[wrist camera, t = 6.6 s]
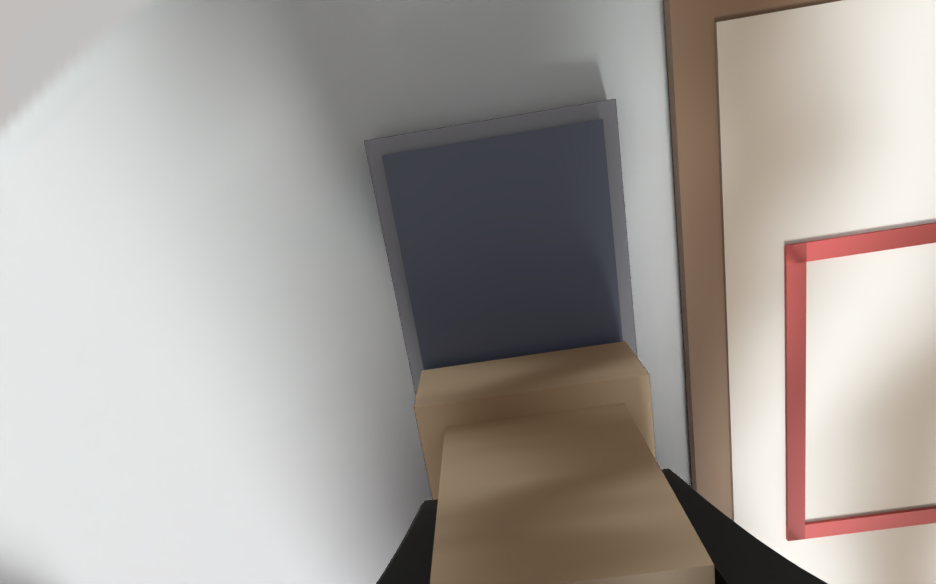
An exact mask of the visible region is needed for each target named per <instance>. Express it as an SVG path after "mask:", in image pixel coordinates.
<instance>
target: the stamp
mask: <svg viewBox="0 0 936 584" xmlns="http://www.w3.org/2000/svg"><path fill="white" fill-rule="evenodd" d="M414 411H415V416H416V421H417V426H418V431H419V435H420V440H421V445H422V450H423V455H424V460H425V465H426V470H427V474H428V479H429V484H430V489H431V494H432V499H433V500H436V499H438V505H437V515H436V525H435V536H434V546H433V556H432V567H431V577H430V584H715V571H714V564H713V562H712V560H711V558H710V556H709V555H708V553H707V551H706V549H705V547H704V546H703V544H702V542H701V540H700V538H699V537H698V535H697V533H696V531H695V529H694V528H693V526H692V524H691V522H690V521H689V519H688V517H687V515H686V513H685V512H684V510H683V508H682V506H681V504H680V503H679V501H678V499H677V497H676V495H675V494H674V492H673V490H672V488H671V486H670V485H669V483H668V481H667V479H666V477H665V476H664V474H663V472H662V470H661V468H660V467H659V465H658V463H657V461H656V452H655V440H654V427H653V414H652V401H651V388H650V375H649V373H648V372H647V370H646V369H645V367H644V366H643V365H642V363H641V362H640V361H639V359H638V358H637V356H636V355H635V354H634V352H633V351H632V350H631V348H630V347H629V345H628V344H627V343H626V341H623V342H616V343H609V344H602V345H595V346H588V347H581V348H574V349H567V350H560V351H554V352H547V353H540V354H533V355H526V356H519V357H512V358H505V359H498V360H491V361H484V362H477V363H470V364H463V365H456V366H450V367H443V368H436V369H429V370H422V372H421V376H420V381H419V386H418V390H417V395H416V399H415V404H414Z"/></svg>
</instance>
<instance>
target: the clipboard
mask: <svg viewBox="0 0 936 584" xmlns="http://www.w3.org/2000/svg"><path fill="white" fill-rule="evenodd" d="M664 15H665V32H666V49H667V66H668V84H669V101H670V118H671V135H672V152H673V169H674V186H675V203H676V220H677V237H678V254H679V271H680V289H681V306H682V323H683V340H684V357H685V374H686V391H687V408H688V425H689V442H690V459H691V476H692V488H693V489H694V490H695V491H696V492H698V493H699V494H700V495H701V496H702V497H704V498H705V499H706V500H707V501H709V502H710V503H711V504H712V505H713V506H715V507H716V508H717V509H718V510H720V511H721V512H722V513H724V514H725V515H726V516H727V517H729V518H730V519H731V520H733V521H734V522H735V523H737V524H738V525H739V526H741V527H742V528H743V529H745V530H746V531H747V532H749V533H750V534H751V535H753V536H754V537H755V538H757V539H758V540H760V541H761V542H763V543H764V544H765V545H767V546H768V547H770V548H771V549H773V550H774V551H776V552H777V553H779V554H780V555H782V556H783V557H785V558H786V559H788V560H789V561H791V562H793V563H794V564H796V565H797V566H799V567H801V568H802V569H804V570H805V571H807V572H809V573H811V574H812V575H814V576H816V577H817V578H819V579H821V580H823V581H824V582H826V583H828V584H936V0H664Z"/></svg>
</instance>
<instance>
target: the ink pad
mask: <svg viewBox="0 0 936 584" xmlns="http://www.w3.org/2000/svg"><path fill="white" fill-rule="evenodd" d="M364 143H365V148H366V153H367V158H368V163H369V167H370V172H371V177H372V182H373V187H374V192H375V197H376V202H377V207H378V212H379V217H380V222H381V227H382V231H383V236H384V241H385V246H386V251H387V256H388V261H389V266H390V271H391V276H392V281H393V286H394V291H395V295H396V300H397V305H398V310H399V315H400V320H401V325H402V330H403V335H404V340H405V345H406V350H407V355H408V359H409V364H410V369H411V374H412V379H413V384H414V389H415V394H416V395H417V390H418V386H419V381H420V376H421V372H422V370H429V369H436V368H443V367H450V366H456V365H463V364H470V363H477V362H484V361H491V360H498V359H505V358H512V357H519V356H526V355H533V354H540V353H547V352H554V351H560V350H567V349H574V348H581V347H588V346H595V345H602V344H609V343H616V342H623V341H626V343H627V344H628V345H629V347H630V348H631V350H632V351H633V352H634V354H635V355H636V356H637V349H636V337H635V325H634V313H633V301H632V289H631V277H630V265H629V253H628V241H627V229H626V217H625V205H624V193H623V181H622V169H621V156H620V144H619V132H618V120H617V108H616V99H611V100H605V101H599V102H593V103H587V104H581V105H575V106H569V107H563V108H557V109H551V110H545V111H539V112H533V113H527V114H521V115H515V116H509V117H503V118H497V119H491V120H485V121H479V122H473V123H467V124H461V125H455V126H449V127H443V128H437V129H431V130H425V131H419V132H413V133H407V134H401V135H395V136H389V137H383V138H377V139H371V140H365V141H364Z"/></svg>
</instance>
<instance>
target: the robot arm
mask: <svg viewBox="0 0 936 584" xmlns="http://www.w3.org/2000/svg"><path fill="white" fill-rule="evenodd" d="M662 472H663V474H664V476H665V477H666V479H667V481H668V483H669V485H670V486H671V488H672V490H673V492H674V494H675V495H676V497H677V499H678V501H679V503H680V504H681V506H682V508H683V510H684V512H685V513H686V515H687V517H688V519H689V521H690V522H691V524H692V526H693V528H694V529H695V531H696V533H697V535H698V537H699V538H700V540H701V542H702V544H703V546H704V547H705V549H706V551H707V553H708V555H709V556H710V558H711V560H712V562H713V564H714V571H715V584H828V583H826V582H824V581H823V580H821V579H819V578H817V577H816V576H814V575H812V574H811V573H809V572H807V571H805V570H804V569H802V568H801V567H799V566H797V565H796V564H794V563H793V562H791V561H789V560H788V559H786V558H785V557H783V556H782V555H780V554H779V553H777V552H776V551H774V550H773V549H771V548H770V547H768V546H767V545H765V544H764V543H763V542H761V541H760V540H758V539H757V538H755V537H754V536H753V535H751V534H750V533H749V532H747V531H746V530H745V529H743V528H742V527H741V526H739V525H738V524H737V523H735V522H734V521H733V520H731V519H730V518H729V517H727V516H726V515H725V514H724V513H722V512H721V511H720V510H718V509H717V508H716V507H715V506H713V505H712V504H711V503H710V502H709V501H707V500H706V499H705V498H704V497H702V496H701V495H700V494H699V493H698V492H696V491H695V490H694V489H693V488H692V487H690V486H689V485H688V484H687V483H686V482H684V481H683V480H682V479H681V478H680V477H678V476H677V475H676V474H675V473H674V472H672V471H671V470H670V469H664V470H662ZM437 505H438V499H436V500H429V501H424V503H423V504H422V505H421V507H420V509H419V511H418V513H417V515H416V516H415V518H414V520H413V522H412V524H411V526H410V528H409V530H408V532H407V533H406V535H405V537H404V539H403V541H402V542H401V544H400V546H399V548H398V549H397V551H396V553H395V554H394V556H393V558H392V559H391V561H390V563H389V564H388V566H387V568H386V569H385V571H384V573H383V574H382V576H381V577H380V579H379V580H378V582H377V583H376V584H430V577H431V567H432V556H433V546H434V536H435V525H436V515H437Z"/></svg>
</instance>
